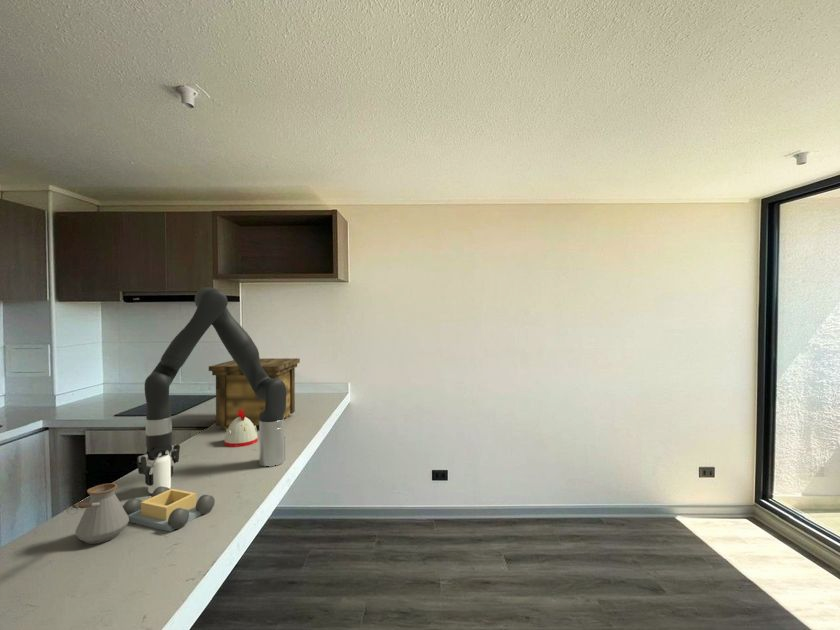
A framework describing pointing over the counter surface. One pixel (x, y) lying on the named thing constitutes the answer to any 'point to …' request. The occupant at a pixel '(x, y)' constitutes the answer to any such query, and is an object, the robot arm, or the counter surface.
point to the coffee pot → (101, 515)
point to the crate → (249, 389)
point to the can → (161, 473)
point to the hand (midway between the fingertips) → (159, 480)
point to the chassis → (168, 508)
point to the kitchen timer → (241, 432)
